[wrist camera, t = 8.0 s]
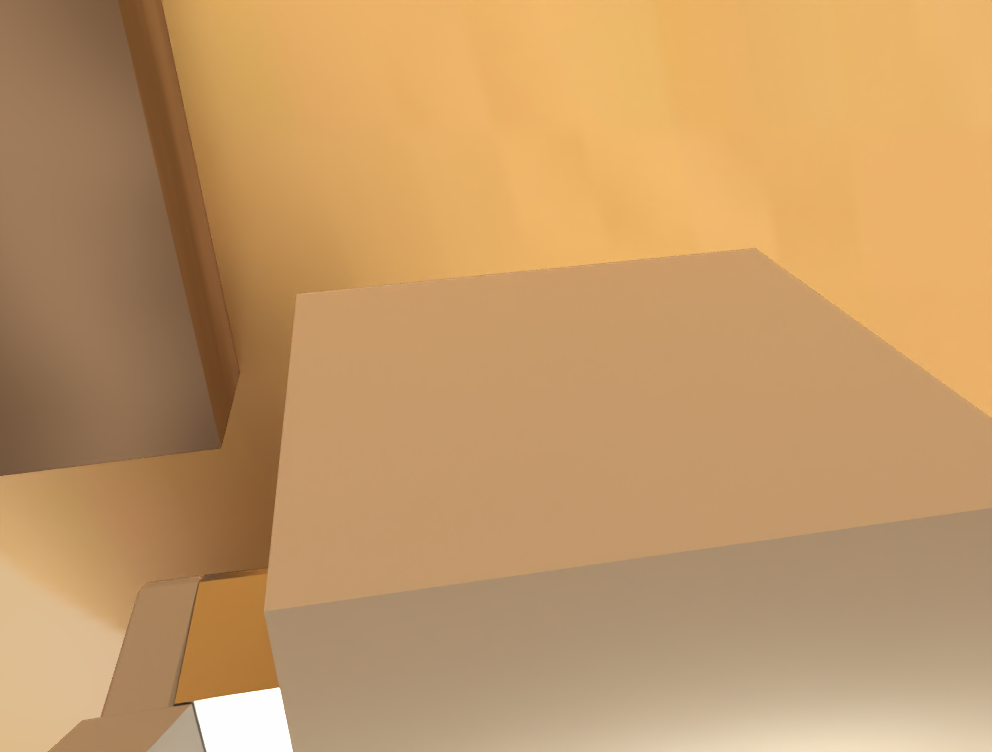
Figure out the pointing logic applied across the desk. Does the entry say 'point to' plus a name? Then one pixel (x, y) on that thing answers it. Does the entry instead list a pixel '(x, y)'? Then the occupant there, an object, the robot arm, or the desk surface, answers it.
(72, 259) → the walnut block
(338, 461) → the white cube
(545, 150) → the desk surface
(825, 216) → the desk surface
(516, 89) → the desk surface
